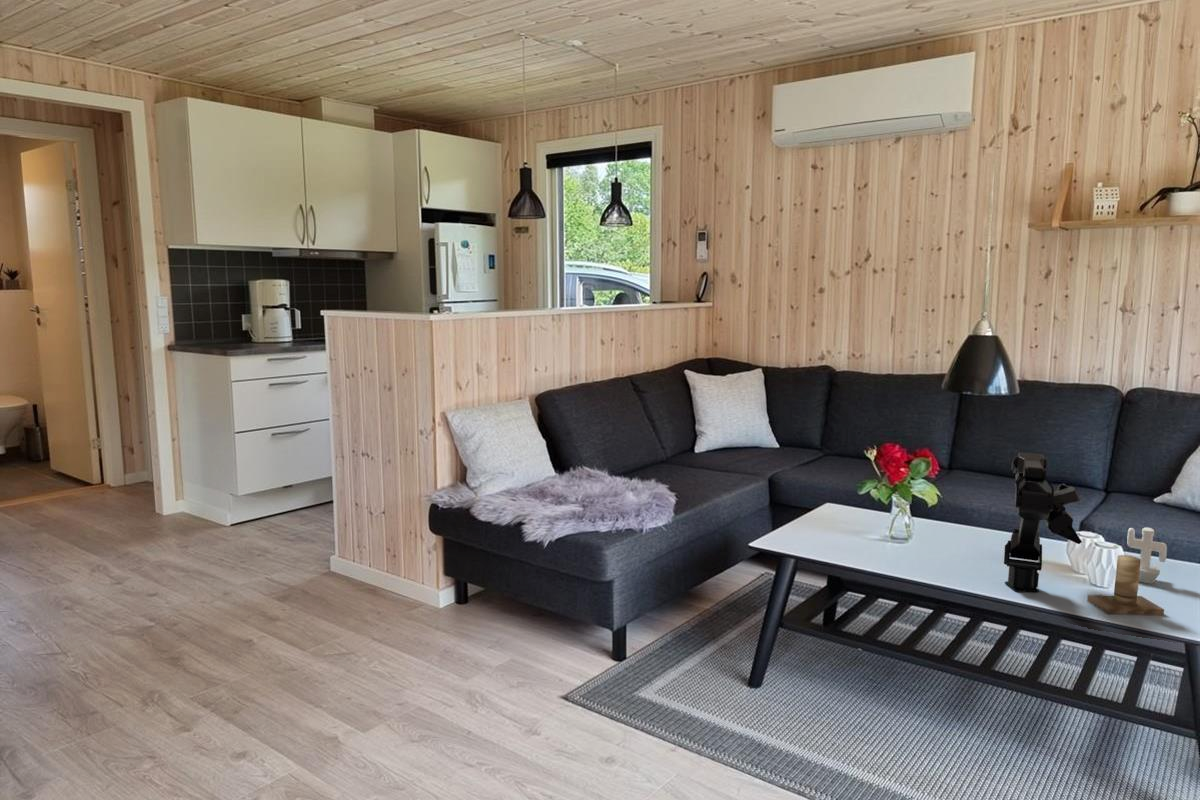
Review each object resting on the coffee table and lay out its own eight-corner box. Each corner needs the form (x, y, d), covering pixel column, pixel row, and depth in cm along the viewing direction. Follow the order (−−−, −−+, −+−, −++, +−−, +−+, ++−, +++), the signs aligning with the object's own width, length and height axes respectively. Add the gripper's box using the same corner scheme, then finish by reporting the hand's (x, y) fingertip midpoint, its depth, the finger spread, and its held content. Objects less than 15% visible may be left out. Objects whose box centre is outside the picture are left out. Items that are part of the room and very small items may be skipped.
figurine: (1163, 587, 226) (1168, 534, 224) (1122, 580, 231) (1127, 528, 229) (1163, 579, 231) (1169, 528, 229) (1124, 572, 237) (1129, 522, 235)
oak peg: (1120, 610, 208) (1125, 561, 207) (1108, 602, 213) (1113, 554, 212) (1140, 610, 208) (1145, 561, 206) (1128, 603, 213) (1133, 555, 211)
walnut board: (1107, 614, 206) (1108, 608, 206) (1087, 600, 215) (1087, 595, 215) (1163, 615, 206) (1164, 609, 206) (1140, 601, 215) (1141, 596, 215)
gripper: (1066, 484, 215) (1110, 529, 213) (1055, 469, 233) (1096, 511, 230) (1030, 510, 219) (1073, 555, 217) (1022, 494, 236) (1062, 535, 234)
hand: (1077, 538), depth 224 cm, fingers open, 9 cm apart
